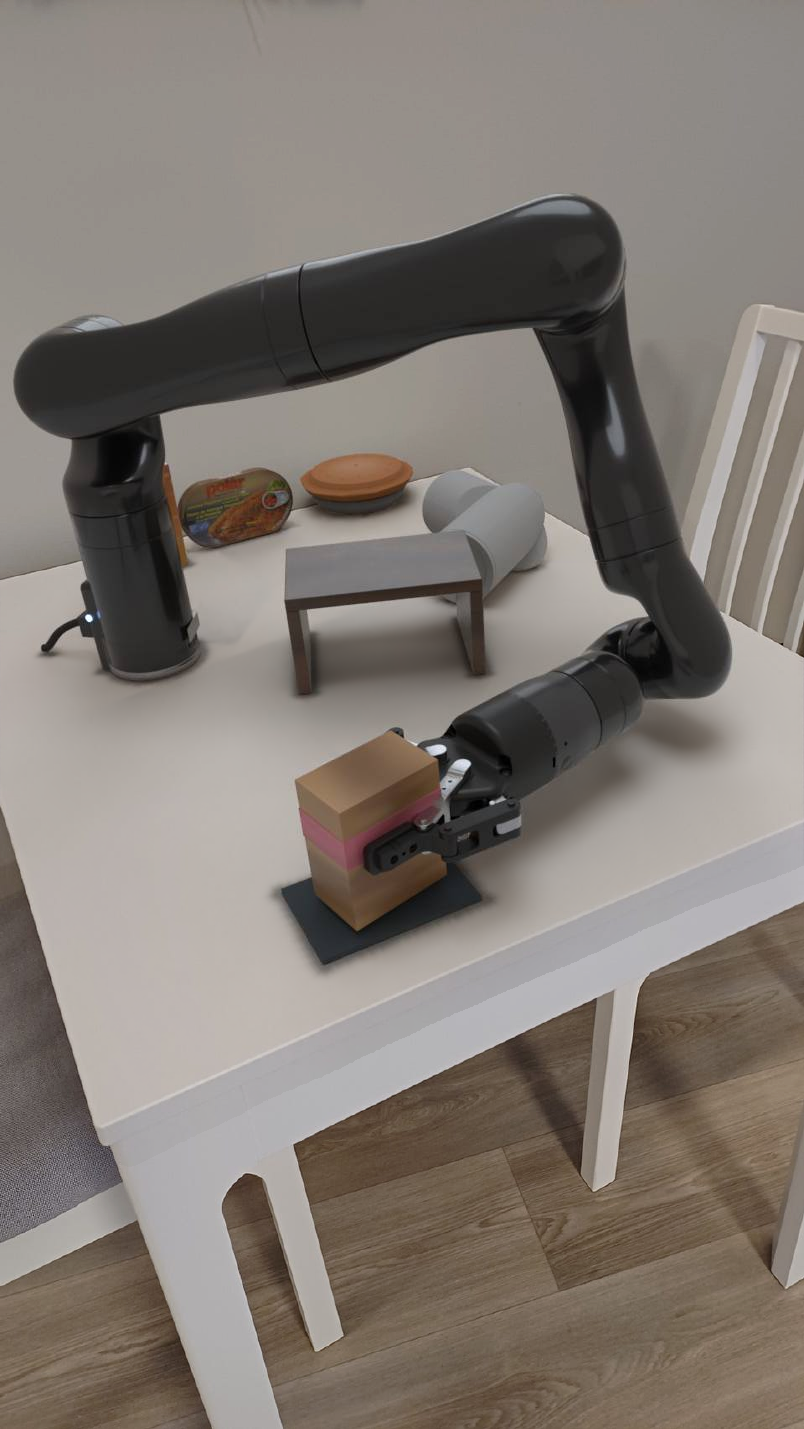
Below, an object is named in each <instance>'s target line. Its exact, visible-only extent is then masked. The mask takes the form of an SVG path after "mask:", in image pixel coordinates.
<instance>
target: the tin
mask: <svg viewBox="0 0 804 1429" xmlns="http://www.w3.org/2000/svg"><path fill="white" fill-rule="evenodd" d="M293 506H294V496H293V491H292V488H291V486H290V484H289V482H288V480H286V479H285V477H284V476H282V475H281V474H280V473H279V472H276V471H273V470H271V469H268V468H266V467H251V468H247V469H243V470H239V471H235V472H231V473H228V474H223V475H220V476H216V477H211V478H207V479H203V480H199V481H197V482H194V483H192V484H191V485H190V486H188V487H187V488H186V489H185V490H184V492H183V493H182V494H181V496H180V498H179V500H178V503H177V509H178V514H179V519H180V524H181V529H182V532H184V533H185V534H186V536H187V537H188V538H189V539H190V540H191V541H192V542H193V543H194V544H196V545H197V546H201V547H203V548H209V549H214V548H215V549H216V548H220V547H224V546H227V545H231V544H235V543H238V542H241V541H246V540H249V539H253V538H257V537H260V536H264V535H267V534H271V533H273V532H276V531H277V530H279V529H280V528H282V527H283V526H284V524H285V523H287V521H288V519H289V518H290V516H291V514H292V511H293Z"/></svg>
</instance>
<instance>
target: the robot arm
mask: <svg viewBox="0 0 804 1429" xmlns="http://www.w3.org/2000/svg"><path fill="white" fill-rule="evenodd" d="M627 262H628V261H627V254H626V249H625V245H624V240H623V236H622V232H621V231H620V228H619V226H618V224H617V222H616V220H615V219H614V217H613V216H612V214H611V213H610V212H609V211H608V210H607V209H606V208H605V207H604V206H603V205H602V204H601V203H599V202H598V201H596V200H594V199H592V198H590V197H588V196H586V195H583V194H582V195H581V194H578V193H574V192H573V193H571V192H557V193H552V194H546V195H543V196H540V197H537V198H534V199H532V200H529V201H526V202H523V203H521V204H518V205H516V206H514V207H511V208H509V209H506V210H503V211H501V212H498V213H495V214H493V215H491V216H488V217H485V218H482V219H479V220H477V221H474V222H472V223H469V224H467V225H464V226H461V227H458V228H456V229H455V228H454V229H452V230H451V231H447V232H444V233H441V234H438V235H435V236H432V237H428V238H423V239H420V240H414V241H411V242H405V243H398V244H391V245H385V246H379V247H374V248H368V249H364V250H358V251H353V252H348V253H344V254H340V255H334V256H329V257H325V258H319V259H315V260H310V261H307V262H302V263H300V264H294V265H292V266H287V267H282V268H279V269H275V270H272V271H267V272H264V273H261V274H258V275H255V276H251V277H249V278H246V279H244V280H243V279H242V280H240V281H238V282H234V283H231V284H229V285H227V286H225V287H222V288H220V289H217V290H214V291H212V292H210V293H208V294H206V295H203V296H201V297H199V298H196V299H195V300H192V301H190V302H188V303H186V304H184V305H181V306H179V307H177V308H175V309H173V310H170V311H169V312H166V313H163V314H161V315H159V316H156V317H153V318H150V319H145V320H143V321H138V322H133V323H130V324H123V323H122V322H121V321H119V320H117V319H115V318H113V317H110V316H108V315H103V314H98V313H97V314H96V313H95V314H94V313H93V314H84V315H80V316H78V317H74V318H72V319H70V320H68V321H66V322H63V323H61V324H59V325H57V326H55V327H53V328H50V329H48V330H46V331H44V332H43V333H41V334H40V335H38V336H37V337H35V338H34V339H33V340H31V341H30V342H29V344H28V345H27V346H26V347H25V348H24V350H23V351H22V353H21V354H20V355H19V358H18V359H17V361H16V364H15V367H14V370H13V378H12V384H13V385H12V387H13V395H14V396H15V401H16V403H17V406H18V407H19V408H20V410H21V412H22V413H23V414H24V415H25V416H26V418H27V419H28V420H29V421H30V422H31V423H33V424H34V425H35V426H36V427H37V428H39V429H41V430H42V431H44V432H46V433H47V434H49V435H53V436H55V437H58V438H59V439H60V438H62V439H66V440H69V441H70V446H71V447H70V454H69V459H68V463H67V466H66V469H65V471H64V474H63V477H62V481H61V488H62V494H63V497H64V501H65V505H66V508H67V511H68V514H69V518H70V522H71V525H72V529H73V533H74V537H75V540H76V543H77V547H78V551H79V555H80V559H81V563H82V567H83V570H84V574H85V577H86V579H85V580H84V581H82V582H81V584H80V587H79V589H80V594H81V597H82V601H83V605H84V607H85V609H84V611H82V612H81V613H80V614H79V615H78V616H77V617H76V618H73V619H71V620H69V621H67V622H64V623H62V624H61V625H60V626H58V627H57V628H56V629H54V631H53V632H52V633H51V635H50V636H49V638H48V639H47V641H46V642H45V643H42V644H41V646H40V651H41V652H42V653H48V652H50V651H52V649H53V648H54V647H55V645H56V644H57V642H58V641H59V640H60V638H61V637H62V636H63V635H64V634H65V633H67V632H68V631H70V630H72V629H74V628H78V627H79V630H80V634H81V637H82V638H91V639H92V638H93V641H94V643H95V647H96V650H97V651H96V652H97V654H98V658H99V662H100V665H101V669H102V670H103V671H109V672H110V671H111V673H112V674H113V675H114V676H116V677H118V678H121V679H123V680H129V681H151V680H152V681H153V680H158V679H162V678H166V677H170V676H172V675H175V674H178V673H180V672H182V671H184V670H186V669H188V668H190V666H192V665H193V664H194V663H195V662H197V661H198V659H199V657H200V656H201V654H202V648H201V642H200V640H199V638H198V636H199V635H198V632H197V631H198V629H199V627H200V625H201V622H200V619H199V612H198V611H196V612H195V614H193V610H192V604H191V599H190V596H189V590H188V587H187V581H186V577H185V572H184V568H183V567H184V566H182V562H181V558H180V553H179V548H178V543H177V539H176V534H175V529H174V525H173V520H172V516H171V511H170V506H169V502H168V497H167V493H166V488H165V483H164V466H165V462H166V444H165V436H164V432H163V425H162V420H161V415H164V414H167V413H170V412H175V411H178V410H182V409H186V408H193V407H198V406H199V407H200V406H206V405H215V404H222V403H230V402H235V401H241V400H246V399H254V398H259V397H264V396H269V395H275V394H281V393H289V392H295V391H300V390H303V389H308V388H312V387H313V388H314V387H318V386H322V385H327V384H331V383H334V382H335V383H336V382H339V381H343V380H346V379H350V378H353V377H357V376H359V375H362V374H366V373H368V372H370V371H373V370H376V369H380V368H381V367H384V366H386V365H389V364H391V363H394V362H396V361H398V360H401V359H402V358H404V357H406V356H408V355H411V354H413V353H415V352H417V351H421V350H422V349H424V348H426V347H429V346H432V345H434V344H435V345H436V344H437V343H441V342H444V341H448V340H452V339H457V338H463V337H467V336H468V337H469V336H473V335H482V334H489V333H495V332H503V331H511V330H523V329H532V331H533V334H534V335H535V337H536V340H537V342H538V344H539V346H540V348H541V351H542V353H543V356H544V357H545V360H546V362H547V365H548V367H549V369H550V372H551V375H552V377H553V382H554V384H555V386H556V390H557V394H558V396H559V399H560V400H559V401H560V403H561V407H562V411H563V412H562V413H563V415H564V419H565V424H566V425H565V426H566V430H567V433H568V440H569V446H570V453H571V458H572V465H573V471H574V477H575V482H576V489H577V493H578V498H579V502H580V506H581V511H582V516H583V520H584V523H585V528H586V529H587V530H586V531H587V534H588V538H589V542H590V545H591V549H592V553H593V556H594V560H595V564H596V568H597V571H598V574H599V577H600V579H601V582H602V584H603V586H604V588H605V589H606V590H608V591H609V592H610V593H612V594H616V595H619V596H624V597H629V598H632V599H634V600H636V601H637V602H638V603H639V604H640V605H641V607H642V608H643V610H644V611H645V612H646V614H647V616H639V617H634V618H631V619H628V620H626V621H623V622H621V623H618V624H616V625H614V626H613V627H611V628H609V629H608V630H606V631H605V632H603V633H602V634H601V635H600V636H599V637H598V638H596V639H595V640H594V641H593V642H592V643H591V644H590V645H589V646H587V648H585V649H584V651H583V652H582V653H581V654H580V655H579V656H577V657H574V658H572V659H570V660H568V661H566V662H563V663H562V664H560V665H558V666H556V667H555V668H553V669H551V670H548V671H547V672H546V673H543V674H541V675H538V676H535V677H531V678H529V679H525V680H524V681H522V682H519V683H517V684H515V685H513V686H511V687H510V688H508V689H506V690H504V691H502V692H500V693H498V694H497V695H494V696H493V697H491V698H489V699H487V700H485V701H484V702H483V701H482V702H481V703H479V704H478V705H476V706H474V707H472V708H470V709H468V710H466V711H464V712H462V713H460V714H459V715H457V716H456V717H455V718H454V719H453V720H452V722H451V723H450V724H449V725H448V727H447V729H446V730H445V732H444V733H443V734H442V735H441V736H439V737H436V738H432V739H425V740H423V741H420V742H419V743H417V742H414V741H411V740H409V739H406V738H405V732H404V729H403V728H402V727H399V726H398V727H397V726H393V727H391V728H389V729H388V730H387V731H385V732H384V733H386V732H388V731H390V730H391V731H393V732H394V733H396V734H397V735H399V736H401V737H402V738H404V739H406V740H407V741H409V742H410V743H412V744H414V745H415V746H417V747H418V748H420V749H422V750H423V751H425V752H426V753H428V754H430V755H431V756H433V757H434V758H436V759H438V768H439V781H440V787H441V792H442V794H440V795H438V796H437V797H436V798H435V800H434V802H433V804H432V805H431V806H430V807H428V808H427V809H425V810H423V811H422V812H420V813H419V814H418V815H417V816H416V817H415V819H414V824H413V825H412V824H410V823H409V822H407V821H406V822H405V823H403V824H401V825H399V826H398V827H396V828H394V829H393V830H391V831H389V832H387V833H386V834H384V835H382V836H380V837H379V838H377V839H375V840H374V841H372V842H370V843H368V844H367V845H366V846H365V847H364V849H363V858H364V868H365V869H366V870H367V871H368V872H369V873H371V874H372V875H377V874H379V873H381V872H383V873H384V872H387V871H391V870H393V869H394V868H396V867H397V866H399V865H401V864H402V863H404V862H406V861H408V860H409V859H411V858H412V857H414V856H416V855H417V854H419V853H420V854H423V855H427V854H430V853H432V852H433V853H437V854H440V855H441V859H442V861H444V862H446V863H457V862H459V861H461V860H464V859H467V858H468V857H471V856H474V855H476V854H479V853H481V852H484V851H487V850H488V849H491V848H493V847H497V846H499V845H502V844H504V843H506V842H509V841H512V840H513V839H517V838H518V837H520V836H521V835H522V809H521V808H522V806H521V804H522V803H521V800H522V799H524V798H525V797H527V796H529V795H531V794H532V793H534V792H536V791H537V790H539V789H541V788H543V787H544V786H545V785H547V784H549V783H551V782H552V781H554V780H555V779H557V778H559V777H560V776H562V775H564V774H565V773H567V772H568V771H570V770H572V769H573V768H574V767H576V766H577V765H578V764H580V763H581V762H582V761H583V760H584V759H585V758H586V757H587V756H589V755H590V754H592V753H593V752H594V751H596V750H598V749H600V748H601V747H603V746H605V745H607V744H608V743H609V742H611V741H613V740H615V739H616V738H618V737H619V736H621V735H622V734H624V733H626V731H628V730H629V729H630V728H631V727H633V726H634V725H635V723H637V721H638V720H639V718H640V717H641V715H642V713H643V711H644V708H645V707H644V706H645V701H651V700H653V701H655V700H698V699H703V698H708V697H710V696H712V695H714V694H717V692H718V691H720V690H721V689H722V687H723V686H724V685H725V684H726V682H727V680H728V678H729V676H730V673H731V669H732V664H733V644H732V639H731V635H730V631H729V628H728V626H727V623H726V621H725V619H724V617H723V615H722V613H721V611H720V610H719V607H718V606H717V604H716V603H715V600H714V599H713V598H712V594H710V592H709V590H708V589H707V587H706V585H705V583H704V581H703V579H702V578H701V576H700V574H699V572H698V570H697V569H696V567H695V565H694V564H693V562H692V561H691V559H690V557H689V555H688V554H687V551H686V548H685V547H686V546H685V545H684V544H685V543H684V538H683V536H682V530H681V527H680V524H679V519H678V515H677V511H676V507H675V504H674V499H673V495H672V492H671V488H670V484H669V481H668V478H667V474H666V472H665V468H664V464H663V461H662V458H661V454H660V453H659V449H658V446H657V443H656V440H655V437H654V433H653V431H652V428H651V424H650V421H649V418H648V415H647V412H646V409H645V406H644V401H643V399H642V395H641V391H640V386H639V382H638V378H637V374H636V369H635V365H634V364H635V363H634V358H633V353H632V346H631V341H630V333H629V322H628V312H627V298H626V284H625V281H626V277H627ZM468 834H469V836H468V837H466V838H463V839H461V840H459V837H462V836H465V835H468Z"/></svg>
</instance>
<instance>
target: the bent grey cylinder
mask: <svg viewBox="0 0 804 1429" xmlns="http://www.w3.org/2000/svg"><path fill="white" fill-rule="evenodd" d="M421 506H422V507H421V512H422V519H423V523H424V524H425V527H426V529H428V531H430V533H438V532H448V531H457V530H464V531H465V534H466V537H467V539H468V542H469V545H470V547H471V550H472V553H473V556H474V558H475V561H476V564H477V566H478V569H479V572H480V574H481V577H482V584H483V590H482V591H483V599H484V598H485V597H487V596H488V595H489V593H490V592H492V591H493V589H494V588H495V587H496V586H497V585H498V584H499V583H500V582H501V581H502V580H503V579H504V578H505V577H506V576H507V575H508V574H509V573H510V572H514V571H515V572H520V571H526V570H530V569H532V568H534V567H536V566H537V565H538V564H540V562H541V561H542V560H543V559H544V558H545V556H546V553H547V550H548V534H547V531H546V528H545V519H546V511H545V510H546V509H545V508H546V507H545V503H544V500H543V498H542V496H541V495H540V492H538V491H537V490H536V489H535V488H534V487H532V486H530V485H528V484H526V483H522V482H521V483H520V482H510V483H505V484H502V485H497V484H496V483H493V482H490V481H488V480H487V479H484V478H481V477H479V476H477V475H474V474H472V473H470V472H467V471H465V470H461V469H450V470H447V471H445V472H443V473H441V474H440V475H438V476H437V477H436V478H435V479H434V480H433V481H432V482H431V483H430V484H429V486H428V488H427V490H426V492H425V494H424V496H423V500H422V505H421ZM440 596H441V597H443V598H444V599H445V600H447V601H450V602H452V603H454V604H456V593H455V594H446V595H440Z"/></svg>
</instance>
